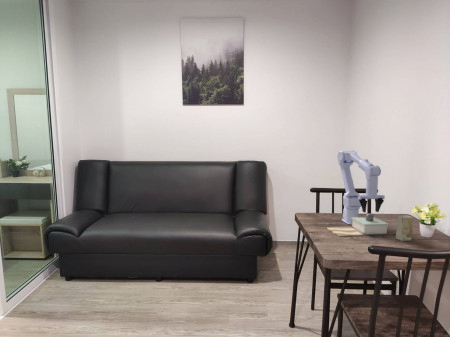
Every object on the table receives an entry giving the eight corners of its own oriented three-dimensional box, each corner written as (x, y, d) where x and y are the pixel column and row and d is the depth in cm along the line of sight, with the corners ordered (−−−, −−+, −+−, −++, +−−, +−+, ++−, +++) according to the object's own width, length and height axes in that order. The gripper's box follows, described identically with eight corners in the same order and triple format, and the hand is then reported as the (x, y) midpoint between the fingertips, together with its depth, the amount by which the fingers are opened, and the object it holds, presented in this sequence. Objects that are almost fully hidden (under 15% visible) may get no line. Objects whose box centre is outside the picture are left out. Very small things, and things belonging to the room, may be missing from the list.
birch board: (326, 228, 198) (326, 227, 198) (349, 227, 200) (349, 226, 200) (338, 236, 183) (338, 235, 183) (363, 235, 185) (363, 234, 185)
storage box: (352, 227, 200) (352, 219, 199) (373, 226, 202) (373, 218, 201) (364, 234, 187) (364, 225, 186) (386, 233, 189) (387, 224, 188)
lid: (351, 219, 200) (351, 211, 199) (374, 219, 202) (374, 210, 201) (364, 226, 186) (364, 218, 185) (388, 226, 188) (389, 217, 187)
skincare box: (401, 241, 177) (403, 217, 175) (395, 238, 181) (397, 215, 180) (412, 240, 179) (413, 217, 177) (405, 237, 183) (407, 215, 181)
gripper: (363, 189, 186) (362, 213, 188) (388, 188, 188) (387, 213, 190) (356, 187, 193) (355, 211, 195) (380, 186, 195) (379, 210, 196)
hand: (370, 211), depth 193 cm, fingers open, 7 cm apart
